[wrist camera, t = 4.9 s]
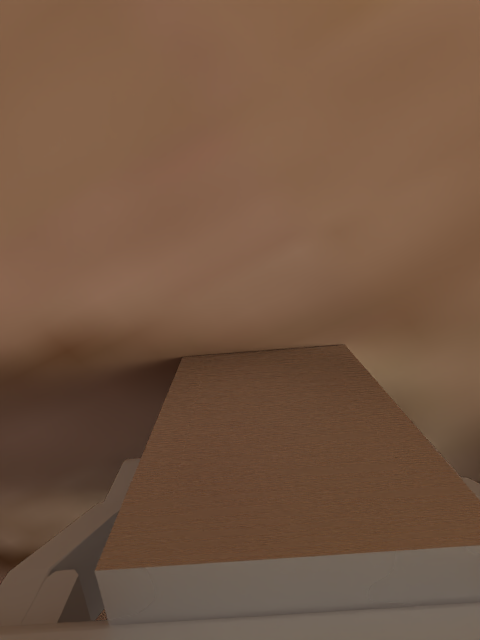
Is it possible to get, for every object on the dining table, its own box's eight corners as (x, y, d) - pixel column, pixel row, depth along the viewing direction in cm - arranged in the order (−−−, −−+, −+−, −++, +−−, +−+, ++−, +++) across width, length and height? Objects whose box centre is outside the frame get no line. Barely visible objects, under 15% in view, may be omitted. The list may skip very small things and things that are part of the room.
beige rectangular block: (344, 344, 11) (516, 542, 4) (343, 479, 13) (470, 787, 6) (182, 357, 11) (94, 570, 4) (200, 489, 13) (156, 805, 6)
